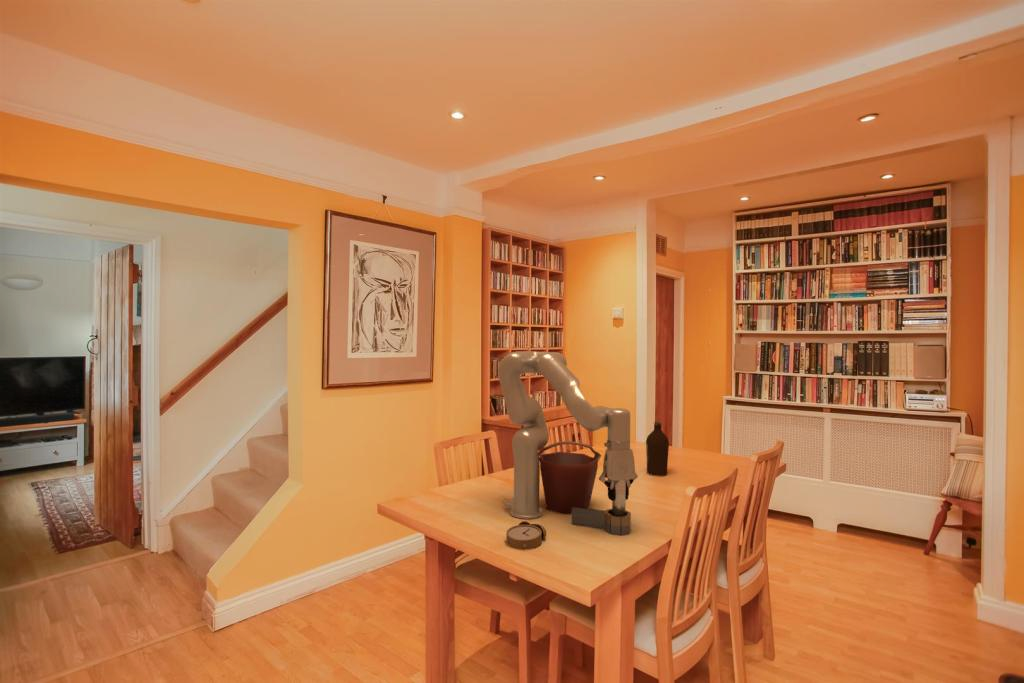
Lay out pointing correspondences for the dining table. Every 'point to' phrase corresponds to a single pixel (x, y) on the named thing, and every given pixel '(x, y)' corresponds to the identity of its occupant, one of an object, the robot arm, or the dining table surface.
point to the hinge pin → (619, 498)
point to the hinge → (602, 520)
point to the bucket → (568, 478)
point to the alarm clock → (525, 535)
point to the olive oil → (657, 451)
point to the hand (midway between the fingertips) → (618, 498)
